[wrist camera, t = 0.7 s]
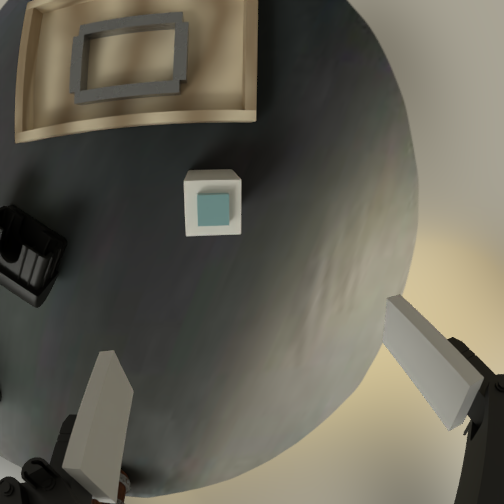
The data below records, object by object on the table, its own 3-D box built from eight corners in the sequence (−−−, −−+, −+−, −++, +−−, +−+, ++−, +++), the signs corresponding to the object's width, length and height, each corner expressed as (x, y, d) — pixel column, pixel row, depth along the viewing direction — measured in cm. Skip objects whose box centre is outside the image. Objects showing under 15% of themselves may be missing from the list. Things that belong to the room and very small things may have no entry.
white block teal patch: (189, 212, 32) (185, 239, 24) (188, 170, 31) (183, 182, 23) (231, 211, 33) (242, 237, 25) (231, 169, 31) (242, 181, 23)
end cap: (-6, 250, 30) (-35, 271, 23) (8, 200, 28) (-24, 215, 22) (54, 289, 33) (32, 318, 27) (72, 241, 31) (48, 265, 25)
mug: (140, 471, 47) (133, 536, 34) (123, 484, 53) (117, 538, 39) (83, 451, 43) (69, 517, 30) (75, 467, 49) (64, 522, 36)
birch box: (30, 141, 26) (15, 143, 23) (40, 11, 21) (27, 2, 18) (250, 122, 30) (256, 121, 27) (252, -14, 24) (258, -27, 21)
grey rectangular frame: (76, 106, 25) (68, 105, 24) (81, 31, 22) (74, 26, 21) (186, 94, 27) (185, 92, 25) (189, 18, 24) (189, 11, 22)
